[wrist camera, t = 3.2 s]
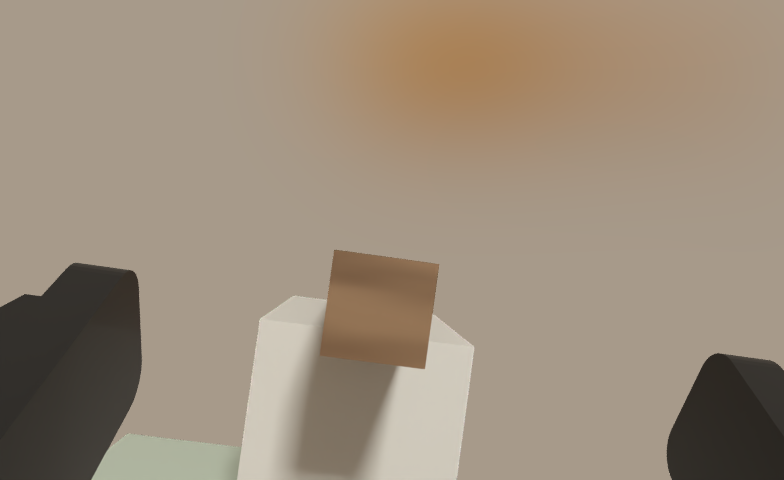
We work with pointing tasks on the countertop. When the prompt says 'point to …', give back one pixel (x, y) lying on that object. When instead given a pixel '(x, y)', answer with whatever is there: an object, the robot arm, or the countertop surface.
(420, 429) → the stepped stand
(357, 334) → the walnut block
